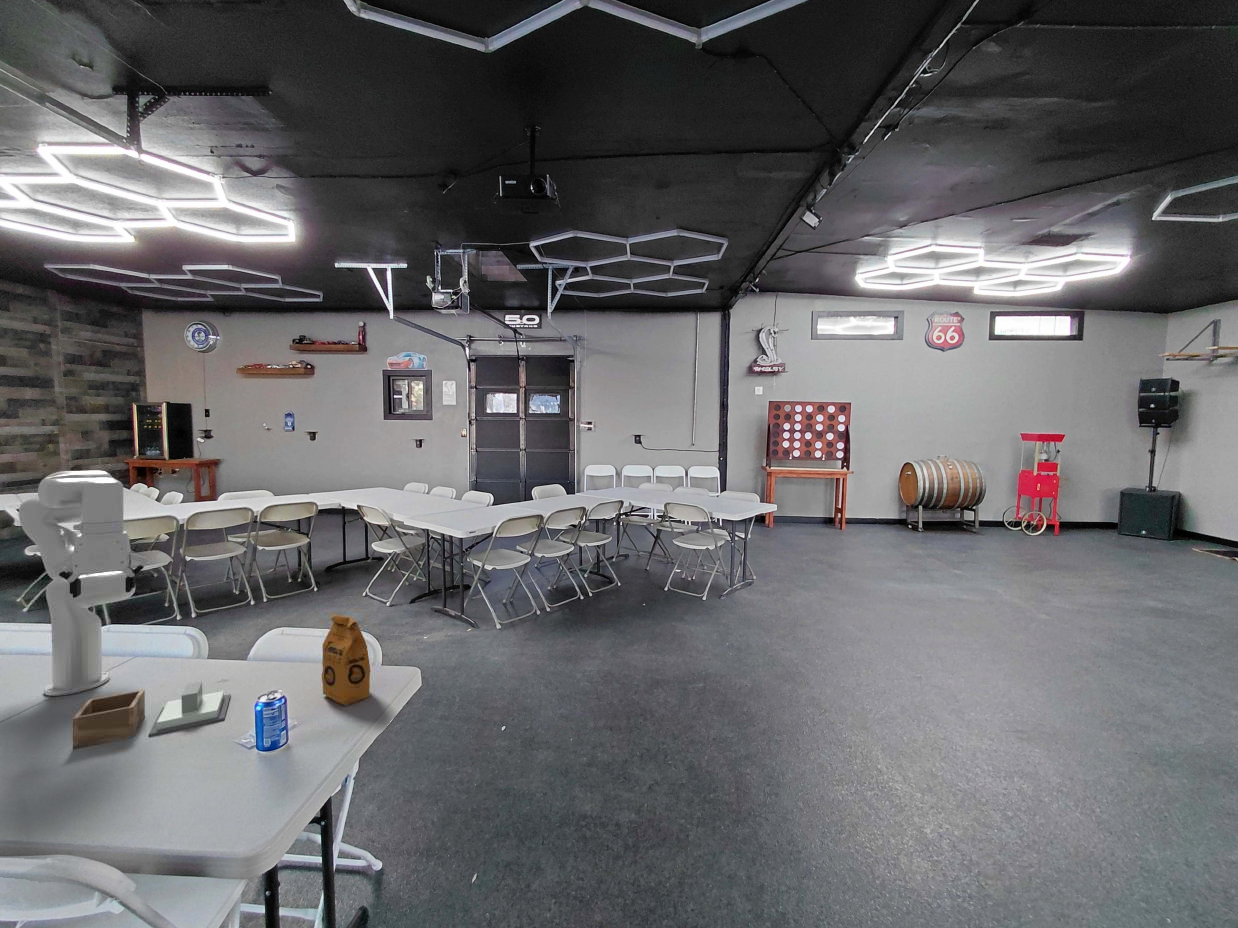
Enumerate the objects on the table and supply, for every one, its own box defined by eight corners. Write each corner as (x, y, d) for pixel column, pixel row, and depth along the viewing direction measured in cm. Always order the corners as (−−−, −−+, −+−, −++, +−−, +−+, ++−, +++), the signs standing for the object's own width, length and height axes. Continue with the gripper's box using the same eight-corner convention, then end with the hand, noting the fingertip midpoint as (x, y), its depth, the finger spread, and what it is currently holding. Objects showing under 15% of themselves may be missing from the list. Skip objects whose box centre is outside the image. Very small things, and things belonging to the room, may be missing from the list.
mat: (162, 709, 129) (162, 707, 129) (230, 696, 136) (230, 693, 136) (148, 736, 117) (148, 733, 117) (224, 719, 125) (224, 717, 125)
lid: (168, 708, 128) (167, 684, 128) (223, 697, 134) (223, 674, 134) (156, 729, 119) (156, 703, 119) (217, 716, 125) (217, 692, 125)
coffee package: (338, 710, 130) (338, 628, 129) (317, 696, 137) (317, 617, 137) (375, 696, 138) (376, 618, 137) (354, 682, 145) (354, 608, 145)
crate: (88, 727, 120) (88, 699, 120) (144, 716, 125) (144, 689, 125) (72, 749, 112) (72, 718, 111) (133, 736, 117) (133, 706, 117)
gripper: (47, 532, 120) (48, 602, 121) (144, 528, 129) (145, 592, 130) (60, 528, 126) (60, 594, 127) (151, 523, 136) (152, 585, 136)
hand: (103, 593), depth 128 cm, fingers open, 9 cm apart
